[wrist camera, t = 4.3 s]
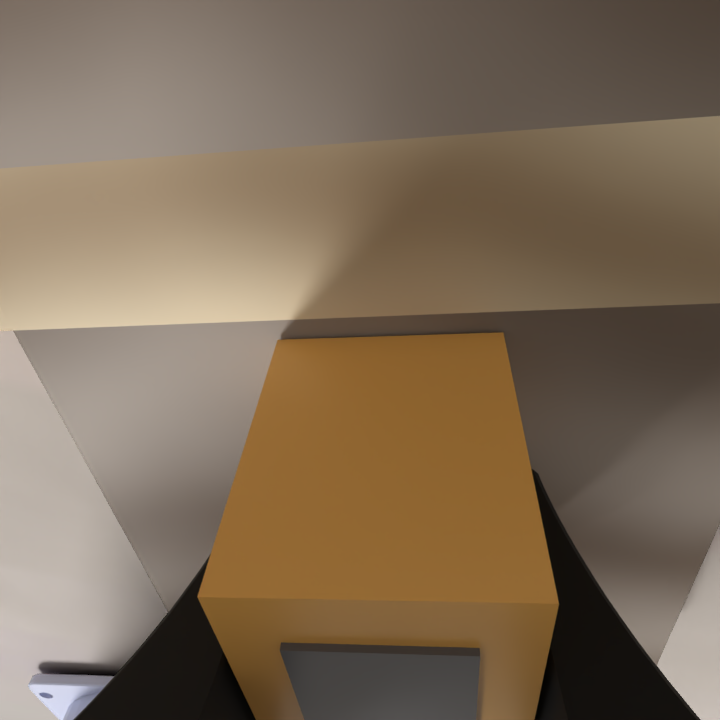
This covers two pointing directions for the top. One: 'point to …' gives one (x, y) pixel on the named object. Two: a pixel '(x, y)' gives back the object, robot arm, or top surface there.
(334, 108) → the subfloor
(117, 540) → the top surface
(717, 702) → the top surface
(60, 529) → the top surface
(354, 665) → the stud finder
